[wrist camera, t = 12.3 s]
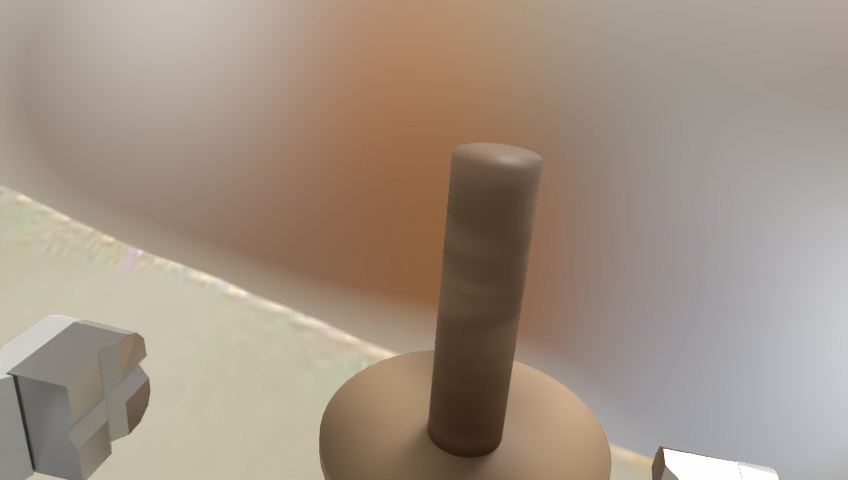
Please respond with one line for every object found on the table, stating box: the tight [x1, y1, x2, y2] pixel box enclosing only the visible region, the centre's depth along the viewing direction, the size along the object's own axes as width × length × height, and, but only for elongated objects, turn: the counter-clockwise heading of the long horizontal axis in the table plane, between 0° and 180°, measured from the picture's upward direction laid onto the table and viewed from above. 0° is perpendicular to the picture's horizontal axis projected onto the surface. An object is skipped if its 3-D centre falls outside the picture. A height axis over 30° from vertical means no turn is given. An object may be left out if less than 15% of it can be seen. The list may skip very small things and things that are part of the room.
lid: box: [319, 143, 611, 480], centre depth 22 cm, size 10×10×11 cm
